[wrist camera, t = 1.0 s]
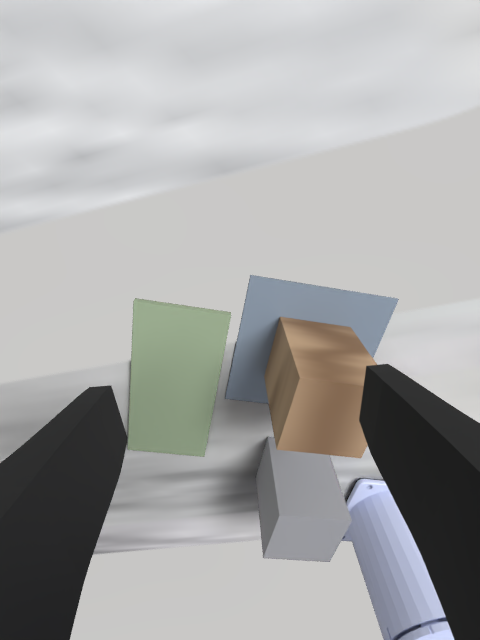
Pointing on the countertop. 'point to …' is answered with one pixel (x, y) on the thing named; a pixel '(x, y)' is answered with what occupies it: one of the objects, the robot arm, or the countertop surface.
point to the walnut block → (317, 388)
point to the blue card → (305, 304)
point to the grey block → (299, 505)
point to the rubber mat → (174, 376)
